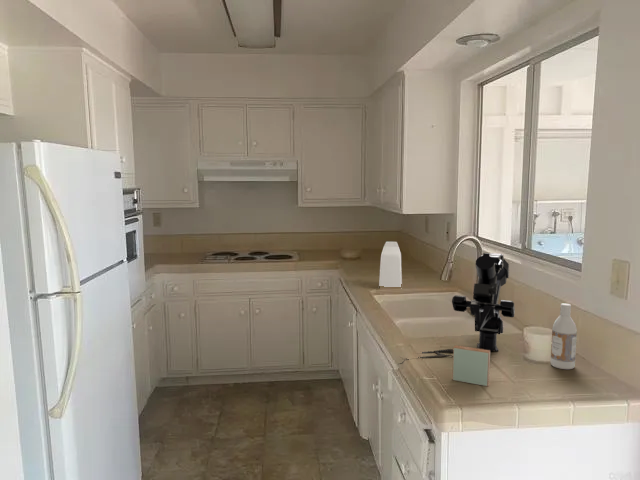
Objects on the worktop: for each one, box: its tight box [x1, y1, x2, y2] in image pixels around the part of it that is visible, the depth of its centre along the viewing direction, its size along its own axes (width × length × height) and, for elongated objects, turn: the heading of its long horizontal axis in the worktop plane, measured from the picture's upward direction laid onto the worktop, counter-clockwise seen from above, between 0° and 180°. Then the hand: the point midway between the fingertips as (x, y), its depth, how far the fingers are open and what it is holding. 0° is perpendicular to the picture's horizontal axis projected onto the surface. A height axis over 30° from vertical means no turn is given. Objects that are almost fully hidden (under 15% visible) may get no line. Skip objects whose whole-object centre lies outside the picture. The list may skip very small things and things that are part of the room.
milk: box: [378, 241, 403, 287], centre depth 274 cm, size 12×12×26 cm
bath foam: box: [550, 302, 578, 370], centre depth 154 cm, size 7×7×20 cm
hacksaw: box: [399, 348, 453, 365], centre depth 163 cm, size 24×10×1 cm, turn 97°
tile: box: [452, 344, 491, 387], centre depth 142 cm, size 2×10×10 cm, turn 63°
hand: (479, 329), depth 152 cm, fingers closed
